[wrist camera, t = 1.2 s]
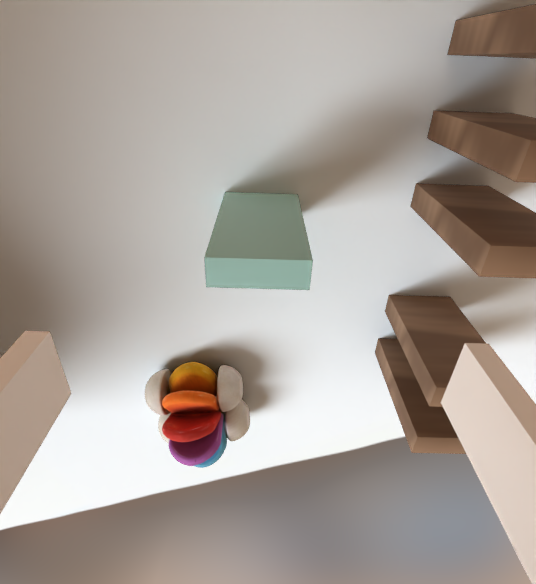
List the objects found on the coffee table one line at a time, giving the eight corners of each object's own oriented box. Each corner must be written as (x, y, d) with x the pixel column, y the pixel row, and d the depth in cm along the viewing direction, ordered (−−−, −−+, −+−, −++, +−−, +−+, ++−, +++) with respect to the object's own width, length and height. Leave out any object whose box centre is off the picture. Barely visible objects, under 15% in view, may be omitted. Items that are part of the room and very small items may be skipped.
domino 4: (444, 312, 31) (510, 408, 23) (384, 311, 31) (429, 406, 22) (450, 296, 30) (521, 389, 22) (388, 295, 30) (436, 387, 22)
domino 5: (430, 354, 33) (485, 453, 25) (374, 352, 33) (411, 452, 25) (435, 340, 33) (494, 438, 24) (378, 338, 32) (417, 437, 24)
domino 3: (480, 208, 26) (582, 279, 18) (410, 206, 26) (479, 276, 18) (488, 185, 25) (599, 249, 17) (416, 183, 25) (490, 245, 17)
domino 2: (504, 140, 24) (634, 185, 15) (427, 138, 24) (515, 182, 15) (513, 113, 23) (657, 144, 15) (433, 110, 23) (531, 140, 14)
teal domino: (296, 216, 27) (309, 289, 18) (225, 214, 26) (206, 287, 18) (297, 194, 26) (312, 260, 17) (225, 191, 26) (204, 257, 17)
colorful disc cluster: (238, 347, 33) (232, 412, 27) (253, 419, 38) (250, 488, 32) (145, 355, 34) (118, 421, 28) (172, 425, 39) (155, 494, 33)
